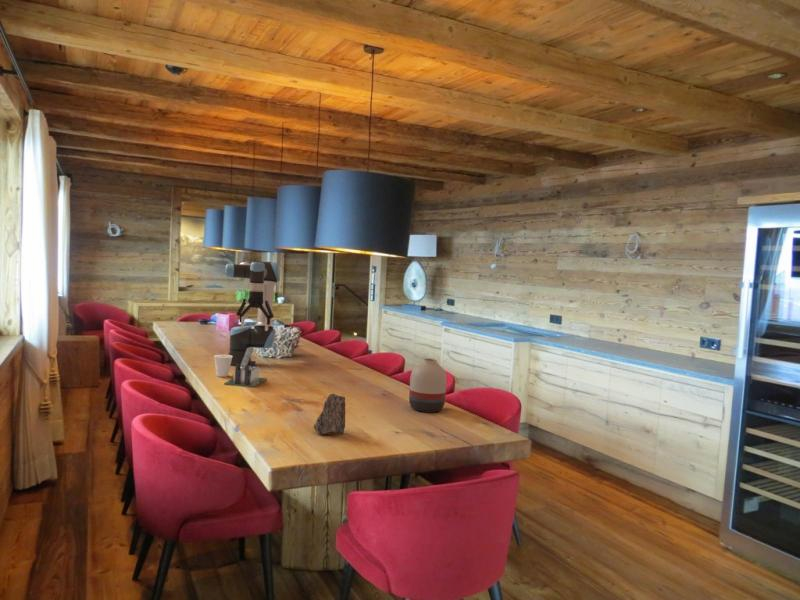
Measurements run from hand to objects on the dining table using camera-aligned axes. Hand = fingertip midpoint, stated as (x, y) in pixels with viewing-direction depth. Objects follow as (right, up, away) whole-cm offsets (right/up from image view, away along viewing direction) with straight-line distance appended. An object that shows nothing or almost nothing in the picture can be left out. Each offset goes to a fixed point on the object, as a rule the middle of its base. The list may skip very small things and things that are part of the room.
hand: (254, 329), depth 312 cm
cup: (-18, -26, 0) cm, 31 cm away
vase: (+92, -36, -43) cm, 108 cm away
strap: (-1, -15, -13) cm, 20 cm away
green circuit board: (-1, -27, -11) cm, 29 cm away
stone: (+52, -36, -90) cm, 110 cm away
